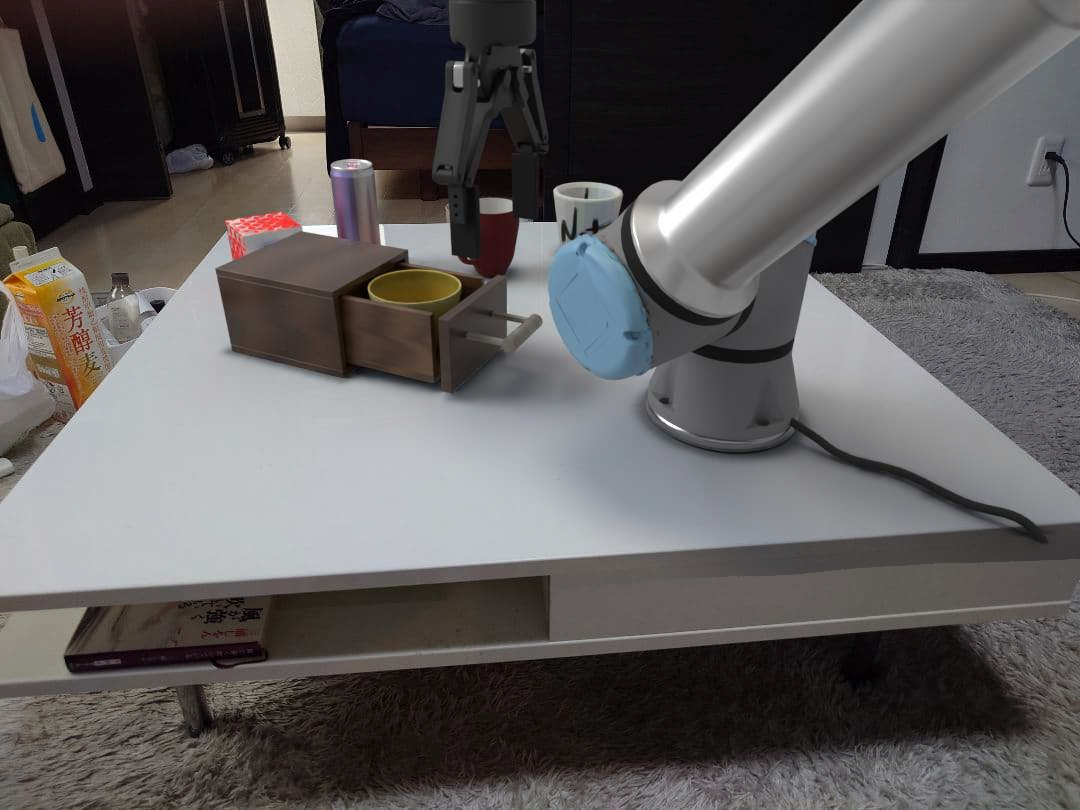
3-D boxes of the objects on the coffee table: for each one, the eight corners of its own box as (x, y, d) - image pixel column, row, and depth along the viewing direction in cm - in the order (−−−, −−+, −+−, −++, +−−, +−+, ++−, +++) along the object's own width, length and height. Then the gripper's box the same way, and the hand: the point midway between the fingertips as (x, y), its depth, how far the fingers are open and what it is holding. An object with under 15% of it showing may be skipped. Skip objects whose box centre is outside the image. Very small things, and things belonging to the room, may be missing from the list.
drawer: (552, 352, 89) (554, 284, 85) (502, 406, 78) (501, 331, 74) (401, 320, 96) (396, 256, 91) (336, 366, 85) (326, 296, 81)
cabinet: (413, 327, 96) (408, 249, 91) (343, 378, 85) (332, 292, 79) (311, 305, 101) (300, 230, 96) (231, 350, 90) (214, 268, 85)
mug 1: (489, 293, 106) (488, 222, 101) (442, 281, 110) (438, 212, 104) (529, 270, 114) (530, 203, 109) (484, 260, 117) (483, 194, 112)
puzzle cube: (289, 264, 114) (281, 211, 110) (309, 280, 109) (301, 225, 105) (235, 275, 110) (224, 220, 106) (253, 292, 105) (242, 236, 101)
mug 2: (547, 264, 116) (549, 197, 111) (558, 233, 129) (560, 172, 124) (616, 268, 115) (621, 201, 110) (621, 237, 128) (625, 176, 123)
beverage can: (341, 276, 111) (329, 169, 103) (341, 262, 116) (329, 159, 108) (384, 273, 112) (374, 168, 104) (381, 259, 117) (372, 158, 109)
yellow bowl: (450, 321, 93) (448, 264, 90) (474, 357, 85) (472, 296, 81) (366, 332, 90) (360, 274, 86) (382, 370, 82) (376, 308, 78)
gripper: (512, -11, 77) (515, 201, 88) (373, -4, 57) (398, 269, 68) (583, -10, 75) (577, 208, 85) (463, -2, 55) (475, 281, 65)
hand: (498, 235), depth 77 cm, fingers open, 13 cm apart
